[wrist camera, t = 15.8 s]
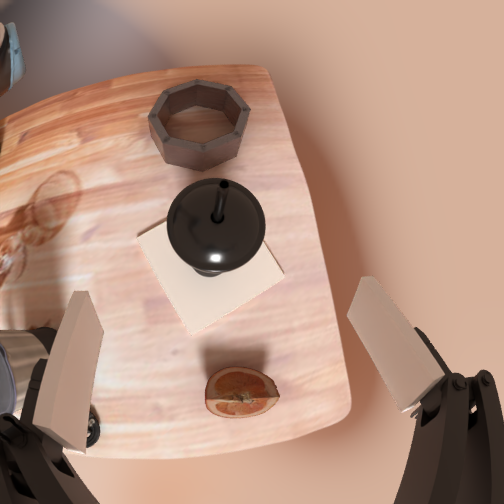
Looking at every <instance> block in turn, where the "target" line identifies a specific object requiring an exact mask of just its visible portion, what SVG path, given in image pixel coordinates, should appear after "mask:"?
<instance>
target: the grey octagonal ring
mask: <svg viewBox="0 0 504 504" xmlns="http://www.w3.org/2000/svg"><path fill="white" fill-rule="evenodd" d="M196 105H197V106H202V107H206V108H211V109H215V110H220V111H223V112H224V114H225V115H226V116H227V118H228V119H229V120H230V121H231V123H232V124H233V125H234V127H235V129H234V132H232V133H229V134H227V135H224V136H222V137H219V138H217V139H214V140H212V141H209V142H207V143H204V144H200V143H196V142H191V141H187V140H182V139H177V138H172V137H169V135H168V134H167V132H166V130H165V128H164V127H165V125H166V123H167V121H168V120H169V118H170V116H171V115H172V114H175V113H177V112H180V111H182V110H185V109H188V108H190V107H193V106H196ZM250 110H251V109H250V108H249V106H248V105H247V104H246V103H245V102H244V100H243V99H242V98H241V97H240V96H239V95H238V93H237V92H236V91H235V90H234V89H233V88H232V86H228V85H223V84H219V83H214V82H209V81H204V80H198V79H196V80H193V81H190V82H187V83H184V84H181V85H178V86H175V87H172V88H170V89H167V90H164V91H163V92H162V94H161V95H160V97H159V98H158V100H157V102H156V103H155V105H154V107H153V108H152V110H151V112H150V113H149V115H148V122H149V127H150V132H151V137H152V139H153V141H154V142H155V144H156V146H157V148H158V150H159V151H160V153H161V155H162V157H163V159H164V160H165V162H166V163H168V164H172V165H177V166H181V167H185V168H189V169H194V170H198V171H202V172H203V171H205V170H207V169H210V168H212V167H214V166H216V165H218V164H221V163H223V162H225V161H227V160H230V159H232V158H234V157H236V156H237V153H238V149H239V146H240V143H241V140H242V137H243V134H244V131H245V128H246V124H247V121H248V117H249V114H250Z"/></svg>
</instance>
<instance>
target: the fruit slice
mask: <svg viewBox="0 0 504 504" xmlns="http://www.w3.org/2000/svg"><path fill="white" fill-rule="evenodd" d="M276 388H277V386H276V385H275V383H274V381H273V380H272V379H271V378H270V377H268V376H267V375H265V374H263V373H261V372H259V371H256V370H253V369H249V368H245V367H228V368H225V369H222V370H220V371H218V372H216V373H215V374H213V375H212V376H211V378H210V379H209V380H208V382H207V386H206V389H205V404H206V407H207V409H208V410H209V411H210V412H211V413H213V414H215V415H217V416H220V417H226V418H245V417H251V416H256V415H260V414H262V413H265V412H266V411H268V410H269V409H270V408H271V407H273V406H274V405H275V403H276V402H277V401H278V399H279V397H280V395H279V393H278V390H277V389H276Z"/></svg>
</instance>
